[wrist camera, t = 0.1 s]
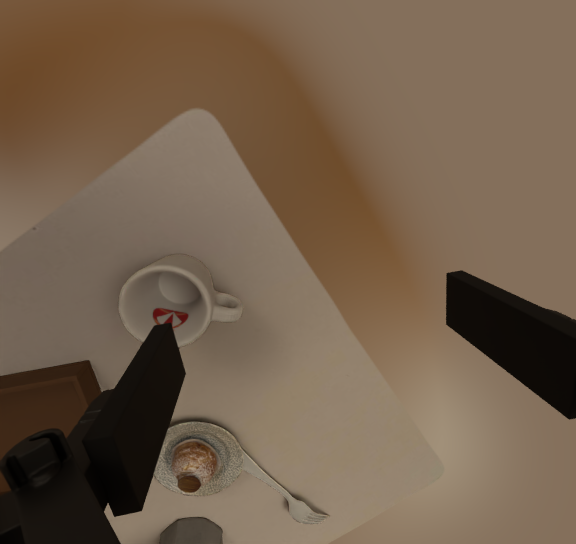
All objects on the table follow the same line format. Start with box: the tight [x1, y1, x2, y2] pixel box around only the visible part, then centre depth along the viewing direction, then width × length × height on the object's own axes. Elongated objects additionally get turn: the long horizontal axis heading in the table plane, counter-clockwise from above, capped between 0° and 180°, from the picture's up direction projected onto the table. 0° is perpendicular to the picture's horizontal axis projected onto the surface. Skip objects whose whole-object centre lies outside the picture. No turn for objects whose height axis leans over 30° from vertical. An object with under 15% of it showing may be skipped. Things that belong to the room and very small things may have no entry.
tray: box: [0, 360, 101, 495], centre depth 38 cm, size 16×18×3 cm
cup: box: [118, 254, 243, 348], centre depth 32 cm, size 11×8×8 cm
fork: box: [242, 450, 330, 524], centre depth 46 cm, size 3×21×3 cm, turn 42°
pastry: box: [154, 422, 244, 496], centre depth 40 cm, size 12×12×5 cm
